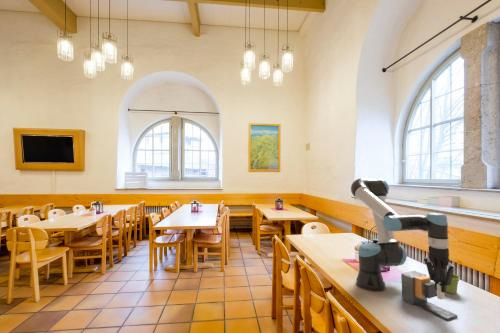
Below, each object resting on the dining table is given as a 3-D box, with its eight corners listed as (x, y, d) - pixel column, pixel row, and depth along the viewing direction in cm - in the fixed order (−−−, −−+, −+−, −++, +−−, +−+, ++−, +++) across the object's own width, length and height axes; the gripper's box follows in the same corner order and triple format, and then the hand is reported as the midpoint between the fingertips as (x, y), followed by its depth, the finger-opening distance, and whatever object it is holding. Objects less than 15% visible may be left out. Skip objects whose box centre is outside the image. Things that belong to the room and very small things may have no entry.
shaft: (399, 285, 129) (398, 273, 129) (407, 283, 131) (406, 272, 131) (428, 298, 115) (428, 285, 115) (437, 296, 117) (436, 283, 117)
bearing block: (402, 300, 125) (401, 273, 126) (415, 296, 129) (414, 270, 129) (445, 321, 107) (443, 290, 107) (459, 316, 110) (458, 286, 111)
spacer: (415, 295, 120) (414, 277, 121) (424, 293, 123) (424, 275, 123) (421, 298, 118) (420, 279, 118) (431, 296, 120) (430, 277, 120)
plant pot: (450, 287, 139) (449, 271, 140) (465, 295, 130) (464, 278, 130) (434, 287, 139) (433, 272, 139) (448, 295, 129) (447, 279, 130)
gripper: (418, 244, 119) (421, 293, 117) (448, 251, 106) (451, 306, 105) (429, 242, 121) (431, 290, 120) (459, 249, 109) (462, 303, 108)
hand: (441, 298), depth 113 cm, fingers closed
